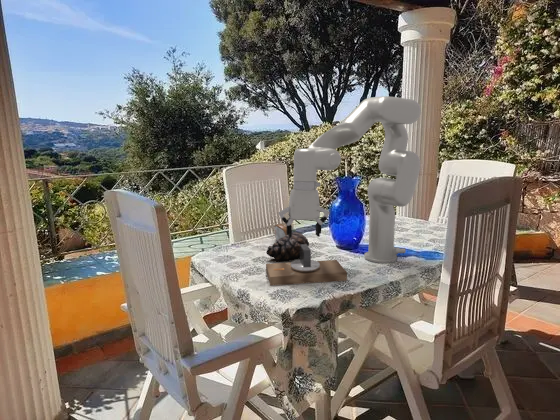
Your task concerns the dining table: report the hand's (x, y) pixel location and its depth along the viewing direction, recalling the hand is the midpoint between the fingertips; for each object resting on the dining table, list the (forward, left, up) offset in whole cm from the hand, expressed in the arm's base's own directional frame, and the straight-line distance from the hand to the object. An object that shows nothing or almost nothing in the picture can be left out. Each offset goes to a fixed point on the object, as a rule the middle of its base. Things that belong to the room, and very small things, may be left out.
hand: (303, 235), depth 138 cm
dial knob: (-1, -1, -11) cm, 11 cm away
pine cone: (+2, -20, -15) cm, 25 cm away
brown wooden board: (-1, 0, -15) cm, 15 cm away
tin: (+1, -40, -15) cm, 43 cm away
